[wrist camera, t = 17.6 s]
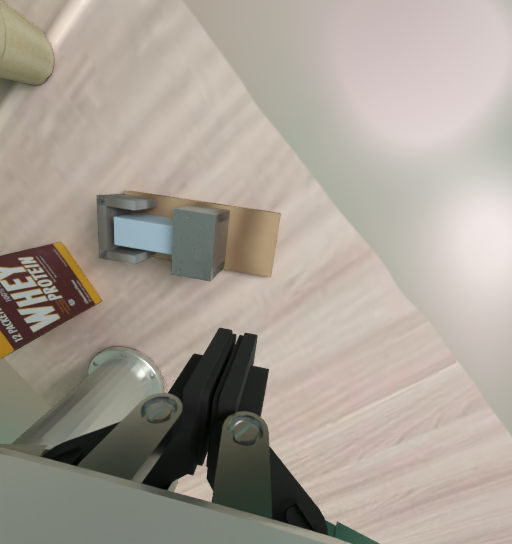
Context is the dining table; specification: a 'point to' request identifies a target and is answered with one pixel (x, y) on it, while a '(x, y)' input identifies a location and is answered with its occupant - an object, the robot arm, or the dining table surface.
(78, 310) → the supplement box
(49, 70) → the flower pot
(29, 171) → the dining table surface
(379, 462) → the dining table surface
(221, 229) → the grey concrete block
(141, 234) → the light blue block
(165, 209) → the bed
